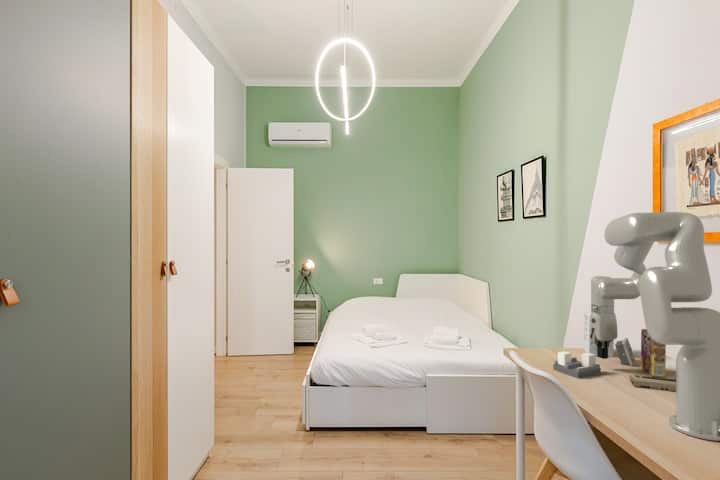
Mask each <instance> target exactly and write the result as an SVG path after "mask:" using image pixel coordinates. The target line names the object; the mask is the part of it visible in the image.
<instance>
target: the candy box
mask: <svg viewBox="0 0 720 480" xmlns="http://www.w3.org/2000/svg"><path fill="white" fill-rule="evenodd" d="M640 330H641V331H640V333H641V334H640V335H641V336H640V338H641V339H640V341H641V342H640V369H641V370H642V371H644V372H645V373H647V374H649V375H650V376H651V377H661V378H666V363H667V362H666V358H667V357H666V354H667V351H666V350H667V345H665V344H659V343H657V342H655V341H653V340H652V339H651V337H650V336H649V334H648V332H647V329H646V328H641V329H640Z"/></svg>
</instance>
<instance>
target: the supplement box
mask: <svg viewBox="0 0 720 480" xmlns="http://www.w3.org/2000/svg"><path fill="white" fill-rule="evenodd" d="M583 314H584V316H583V317H584V319H583V321H584V322H583V323H584V330H583V333H584V334H583V336H584V337H583V340H584V341H583V343H584V344H583V349H584V351H585V353H592V354H595V355H596V357H597V346H596V344H594V343H592V342H591V341H592V339H591V338H590V336H589V324H590V316H591V312H584V313H583ZM614 341H615V339H614V340H613V341H611V342H610V343H609V348H608V358H614V356H615V355H614V351H615V350H614V349H615V348H614V345H615V344H614Z"/></svg>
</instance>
